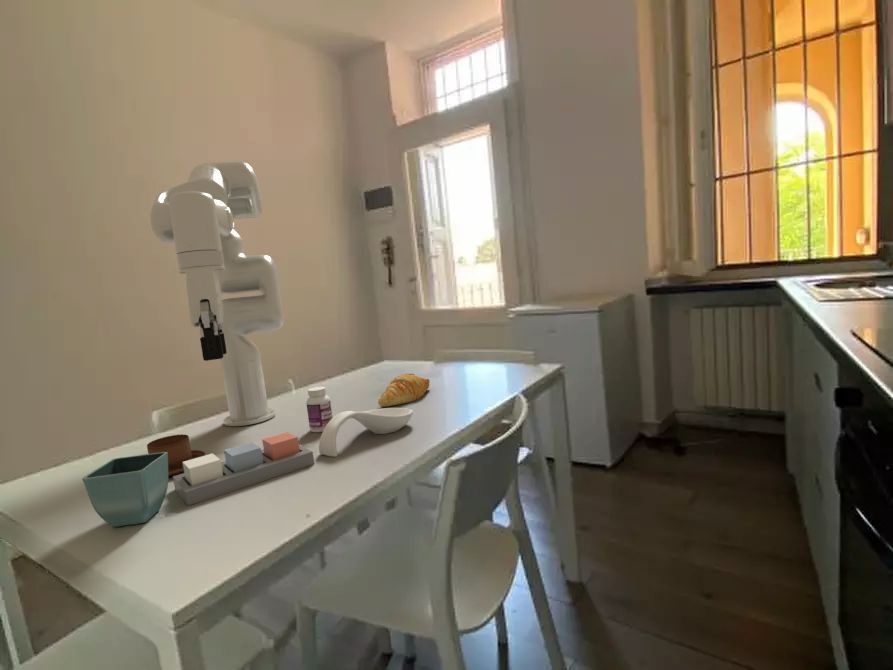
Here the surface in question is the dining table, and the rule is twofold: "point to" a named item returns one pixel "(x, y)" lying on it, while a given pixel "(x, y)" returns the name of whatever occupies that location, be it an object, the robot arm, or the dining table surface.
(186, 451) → the cup and saucer
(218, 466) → the key white
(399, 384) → the croissant
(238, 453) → the key blue
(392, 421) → the spoon rest
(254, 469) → the grey flat tray
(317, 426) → the pill bottle
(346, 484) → the dining table surface
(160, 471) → the flower pot
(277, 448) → the key red
